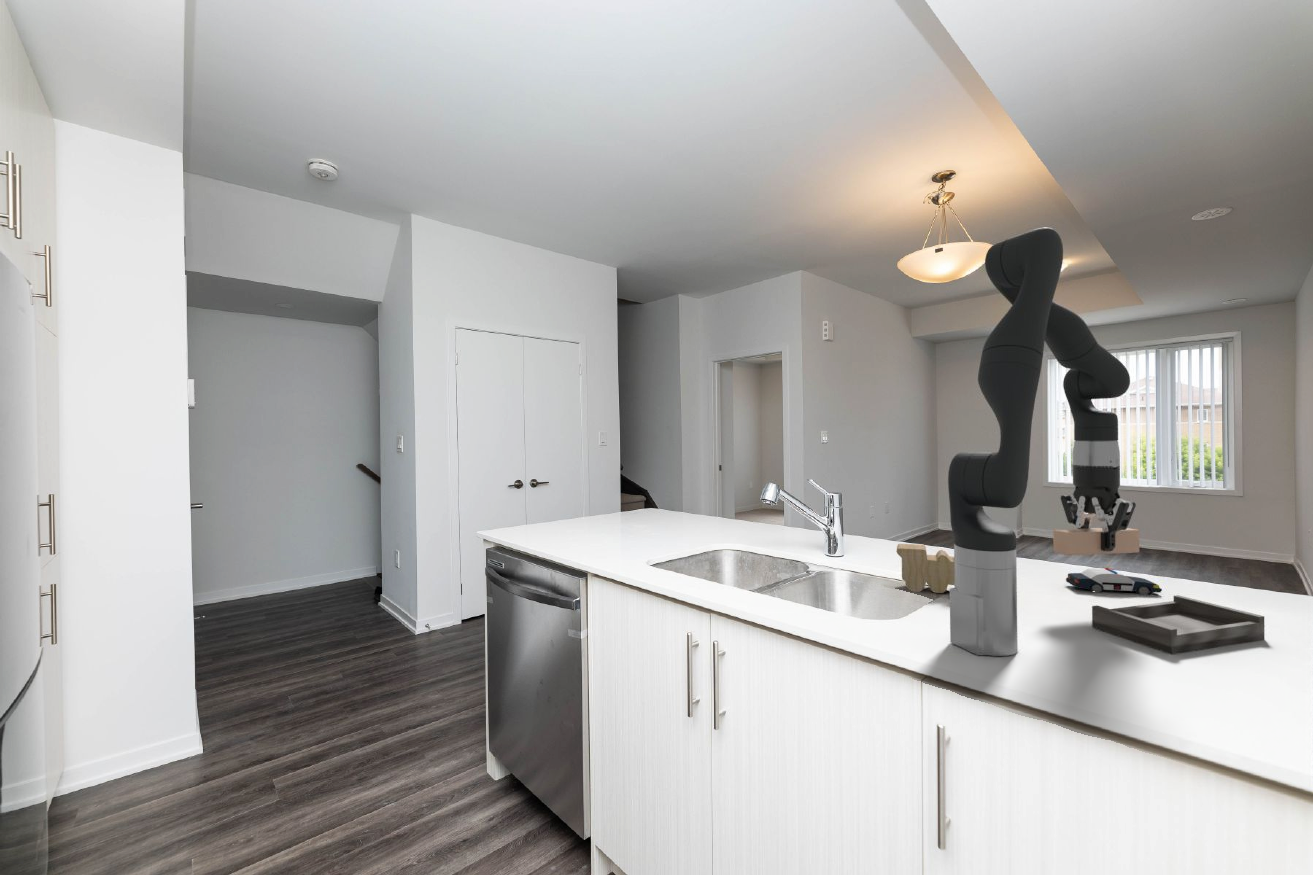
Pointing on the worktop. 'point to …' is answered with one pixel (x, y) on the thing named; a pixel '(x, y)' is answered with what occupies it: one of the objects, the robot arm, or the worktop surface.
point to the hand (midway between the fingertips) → (1096, 548)
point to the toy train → (925, 568)
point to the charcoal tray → (1180, 624)
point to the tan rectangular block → (1093, 541)
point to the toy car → (1111, 581)
